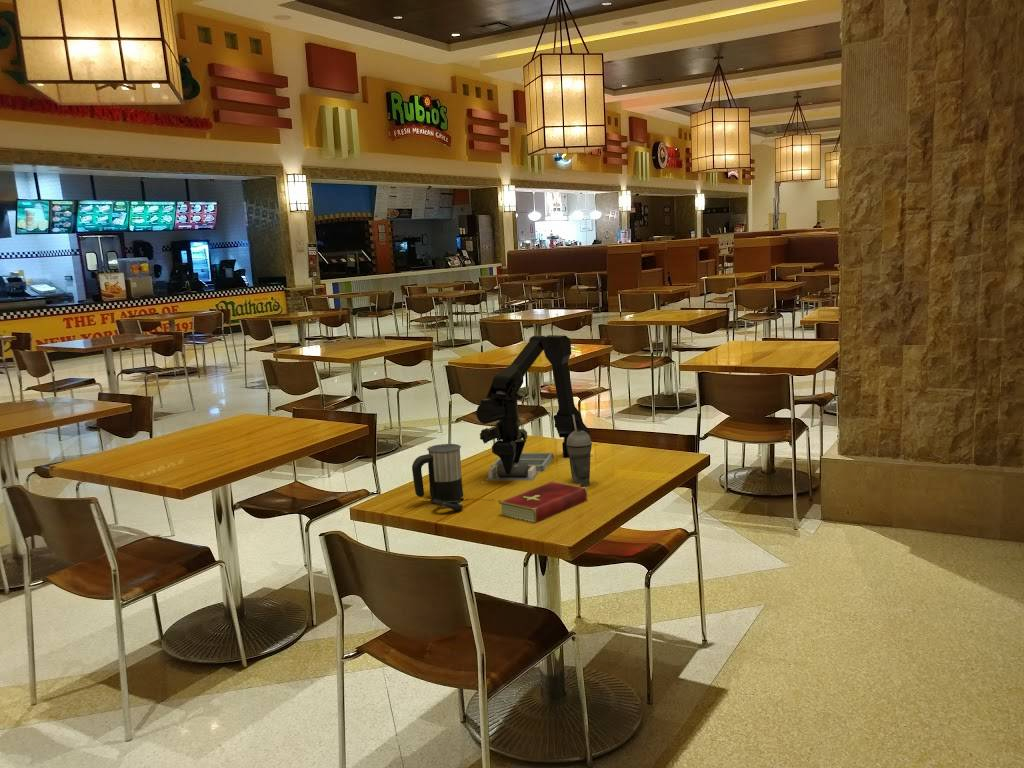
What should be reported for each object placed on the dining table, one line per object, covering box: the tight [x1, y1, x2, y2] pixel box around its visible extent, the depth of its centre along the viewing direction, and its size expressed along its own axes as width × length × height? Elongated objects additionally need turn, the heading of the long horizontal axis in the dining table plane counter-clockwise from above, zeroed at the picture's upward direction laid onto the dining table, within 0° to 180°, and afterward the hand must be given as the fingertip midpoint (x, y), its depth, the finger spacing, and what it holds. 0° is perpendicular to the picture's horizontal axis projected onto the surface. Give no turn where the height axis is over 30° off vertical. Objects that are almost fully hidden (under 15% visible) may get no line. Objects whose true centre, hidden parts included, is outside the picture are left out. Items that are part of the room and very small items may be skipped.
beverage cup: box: [566, 415, 593, 487], centre depth 231 cm, size 7×7×20 cm
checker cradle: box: [485, 466, 539, 481], centre depth 242 cm, size 14×8×3 cm, turn 76°
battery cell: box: [496, 463, 529, 477], centre depth 242 cm, size 9×4×4 cm, turn 76°
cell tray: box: [490, 452, 554, 472], centre depth 255 cm, size 16×15×2 cm
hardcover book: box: [498, 480, 588, 524], centre depth 214 cm, size 12×21×4 cm, turn 138°
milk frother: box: [411, 443, 465, 512], centre depth 221 cm, size 14×16×15 cm
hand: (512, 469), depth 242 cm, fingers open, 9 cm apart
